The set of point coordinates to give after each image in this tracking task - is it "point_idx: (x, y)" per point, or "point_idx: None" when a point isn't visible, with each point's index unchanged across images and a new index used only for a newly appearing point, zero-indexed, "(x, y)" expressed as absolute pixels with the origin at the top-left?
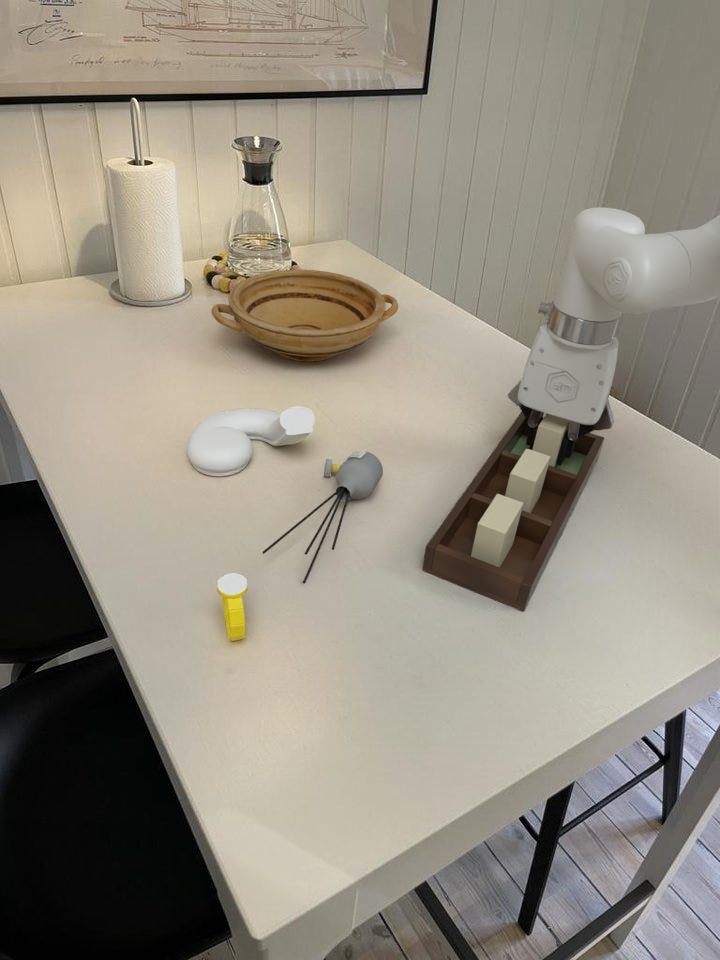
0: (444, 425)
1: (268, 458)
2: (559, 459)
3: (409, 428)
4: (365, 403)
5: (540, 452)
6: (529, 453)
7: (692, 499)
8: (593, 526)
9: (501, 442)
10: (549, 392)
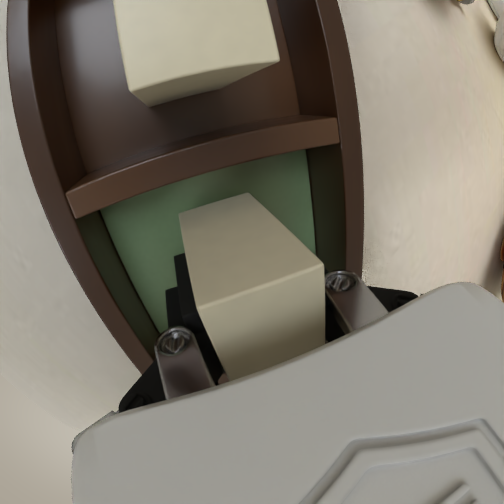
0: (425, 210)
1: (485, 11)
2: (182, 261)
3: (453, 160)
4: (488, 177)
5: (239, 220)
6: (241, 27)
7: (11, 367)
8: (8, 147)
9: (359, 177)
10: (455, 440)
